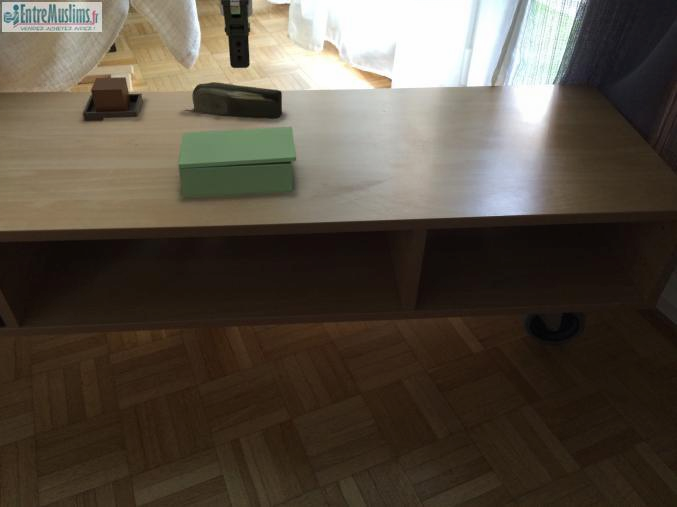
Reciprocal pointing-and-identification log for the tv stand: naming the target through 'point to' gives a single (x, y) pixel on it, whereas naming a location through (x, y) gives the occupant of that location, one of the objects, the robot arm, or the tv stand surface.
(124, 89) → the block
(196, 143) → the lid
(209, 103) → the dark green elongated piece
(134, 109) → the tray
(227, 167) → the box
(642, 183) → the tv stand surface
